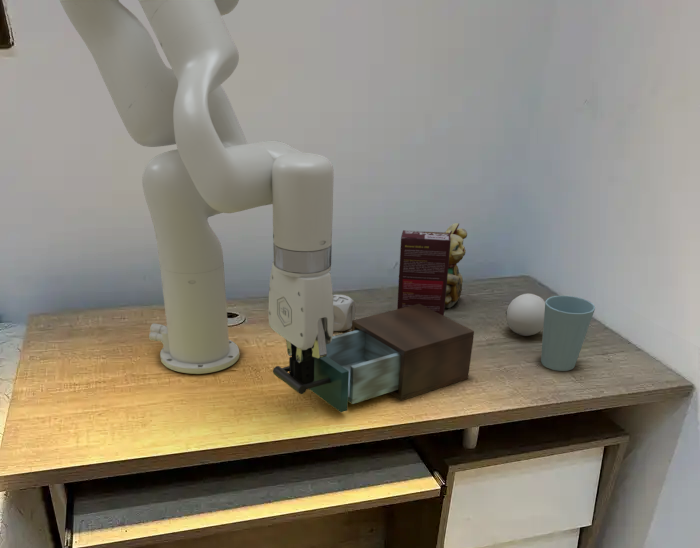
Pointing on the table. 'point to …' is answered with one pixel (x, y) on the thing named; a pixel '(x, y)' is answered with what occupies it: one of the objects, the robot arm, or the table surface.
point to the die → (343, 312)
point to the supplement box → (423, 269)
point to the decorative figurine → (455, 264)
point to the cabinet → (422, 347)
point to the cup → (564, 330)
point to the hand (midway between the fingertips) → (301, 381)
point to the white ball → (526, 314)
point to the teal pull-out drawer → (350, 371)
